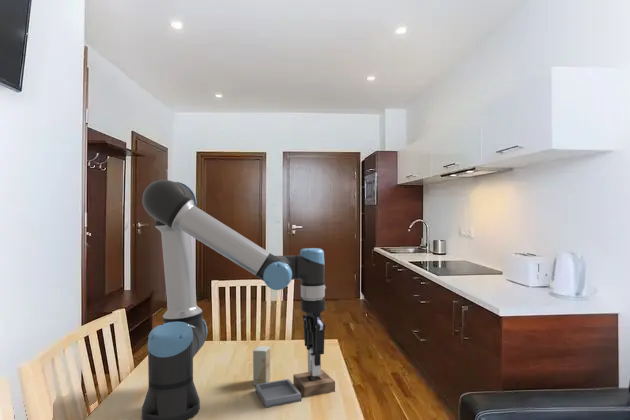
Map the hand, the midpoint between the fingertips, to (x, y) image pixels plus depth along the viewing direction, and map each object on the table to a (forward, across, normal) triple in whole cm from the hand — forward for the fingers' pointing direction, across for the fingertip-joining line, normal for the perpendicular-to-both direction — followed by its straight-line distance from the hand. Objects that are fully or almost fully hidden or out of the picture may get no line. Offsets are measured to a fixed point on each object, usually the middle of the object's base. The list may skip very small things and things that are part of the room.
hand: (314, 372), depth 128 cm
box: (+5, +10, +14) cm, 18 cm away
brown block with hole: (+5, 0, 0) cm, 5 cm away
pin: (+5, 0, 0) cm, 5 cm away
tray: (+4, -1, +12) cm, 13 cm away
